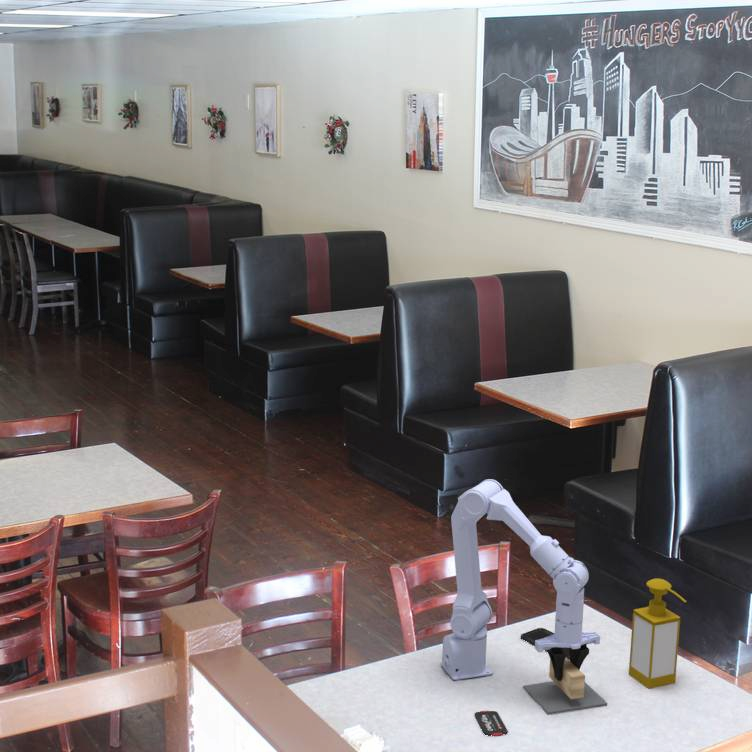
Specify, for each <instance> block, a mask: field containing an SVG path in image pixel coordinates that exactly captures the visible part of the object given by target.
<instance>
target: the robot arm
mask: <svg viewBox="0 0 752 752" xmlns="http://www.w3.org/2000/svg"><path fill="white" fill-rule="evenodd" d="M486 514H487V517H486V520H489V521H503V523H504V524H505V525H507V526H508V527H509V528H510V529H511V530H512V531H513V532H514V533H515V534H516V535H517V536H518V537H520V538H521V540H522V541H524V542H525V543H526V544H527V545H528V546H529V552H530V556H531V557H532V558H533V559H534V561H536V562H537V564H538V565H540V567H541V568H542V569H543V570H544V571H545V572H546V573H547V575H549V576H550V578H552V579H553V580H552V584H553V587H554V589H555V591H556V601H555V619H554V621H555V622H554V633H555V634H554V635H551V636H548V637H546V638H543V639H540V640H535V646H534V649H535V650H536V652H538V653H543V652H544V651H543V650H547V652H548V653H547V652H546V653H547V654H548V656H549V660H550V659H551V662H552V665H553V670H554V676H555V678H556V679H557V680H558V681H562V677H563V665H564V661H565V658H566V655H565V654H564V653H563V650H562V648H563V647H564V648H569V653H570V660H569V661H570V662H571V663H572V664H573V665H575V666H576V667H577V668H578V669H579V670H580V671H581V667H582V665H583V663H584V661H585V659H586V658H587V657H588V655H589V654H590V648H589V647H588V646H587V645H591V644H594V645H600V643H601V635H600V634H599V633H598V632H596V631H593V632H591V631H590V632H589V631H588V632H584V631H583V623H584V621H583V620H584V605H585V604H584V602H585V587H584V586H586V584H587V583H588V582H589V577H590V575H589V574H590V573H589V571H588V568H587V567H586V565H585V564H584V563H583V561H580V560H576V559H574V558H573V557H571V556H569V555H568V554H567V553H566V551H564V550H563V548H562V547H560V545H559V544H560V542H559V541H558V540H557V539H556V538H554V539H553V538H552V537H551V536H548V535H542V534H541V533H540V531H538V529H537V528H536V527H535V526H534V525H533V523H532V522H531V521H530V520H529V519H528V517H526V515H525V514H524V513H523V511H522V510H521V509H520V508H519V506H518V505H516V503H515V502H514V501H513V498H512V497H511V494H510V492H509V491H508V490H506V489H505V488H504V487H503V486H502V484H501V483H500V482H498V481H497V480H496V479H493V478H492V479H491V478H490V479H489V478H488V479H484V480H482V481H481V482H480V483H479V484H478V485H477V484H476V485H475V486H474V487H472V488H470V489H468V490H466V491H464V492H463V494H461V495H460V496H459V497H458V498H457V503H456V506H455V507H454V510H453V512H452V514H451V517H450V518H451V519H450V521H451V531H452V532H451V533H452V542H453V543H452V544H453V554H454V565H455V566H454V567H455V578H456V589H457V590H456V591H457V594H456V597H455V598H454V599H455V600H454V602H453V604H452V615H451V618H450V620H449V626H450V628H451V630H452V633H450V634H447V635H445V636H443V639H442V650H441V651H442V653H441V654H442V655H441V656H442V657H441V663H440V666H441V667H442V668H443V669H444V671H445V672H446V674H447V675H449V677H450V678H451V679H452V680H453V681H458V680H466V679H472V678H479V677H487V676H491V675H493V672H492V670H491V669H490V668H489V667H488V666H487V663H486V662H487V661H486V660H487V639H488V638H487V637H488V635H487V634H488V629H487V625H488V624H489V623H490V622H491V621H492V618H493V610H492V607H491V605H490V604H489V601H488V594H487V593H485V592H484V591H483V589H482V580H481V579H482V578H481V567H480V566H481V565H480V556H479V555H480V554H479V543H478V542H479V541H478V530H477V522H478V521H479V520H480V519H481V518H483V516H485V515H486Z"/></svg>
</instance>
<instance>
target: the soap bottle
mask: <svg viewBox="0 0 752 752" xmlns="http://www.w3.org/2000/svg"><path fill="white" fill-rule="evenodd" d="M645 584H646V587H648V588H649V593H650V594H653V595H654V596H653V597H654V598H653V599H650V600H649V601H648V606H645V607H640V608H635V609H633V613H632V620H631V621H632V622H631V624H632V625H631V634H630V635H631V637H630V650H629V651H630V653H629V666H628V675H629V676H630V677H632V679H634V680H636V681H637V682H639V683H640V684H641V685H643V686H644V687H646V688H647V689H648V690H650V689H654V688H659V687H663V686H667V685H672V684H675V683H676V678H677V676H676V675H677V667H678V666H677V665H678V652H679V639H680V627H681V616H679V615H677V614H676V613H674V612H672V611H671V610H670V609H667V608H666V607H667V603H666V601H664V600H662V598H663V596H665V595H667V594H668V591H669V592H670V593H672V594H673V595H675V596H676V597H677V598H679V599H680V600H681V601H682V602H683V603H684V604H685V603H687V600H686V599H684V598H683V597H682V596H681V595H680V594H678V593H677V592H676V591H675V590H672V584H671V583H670V582H668V580H665V579H664V578H652V579H650V580H648V581H647V582H646V583H645Z"/></svg>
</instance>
